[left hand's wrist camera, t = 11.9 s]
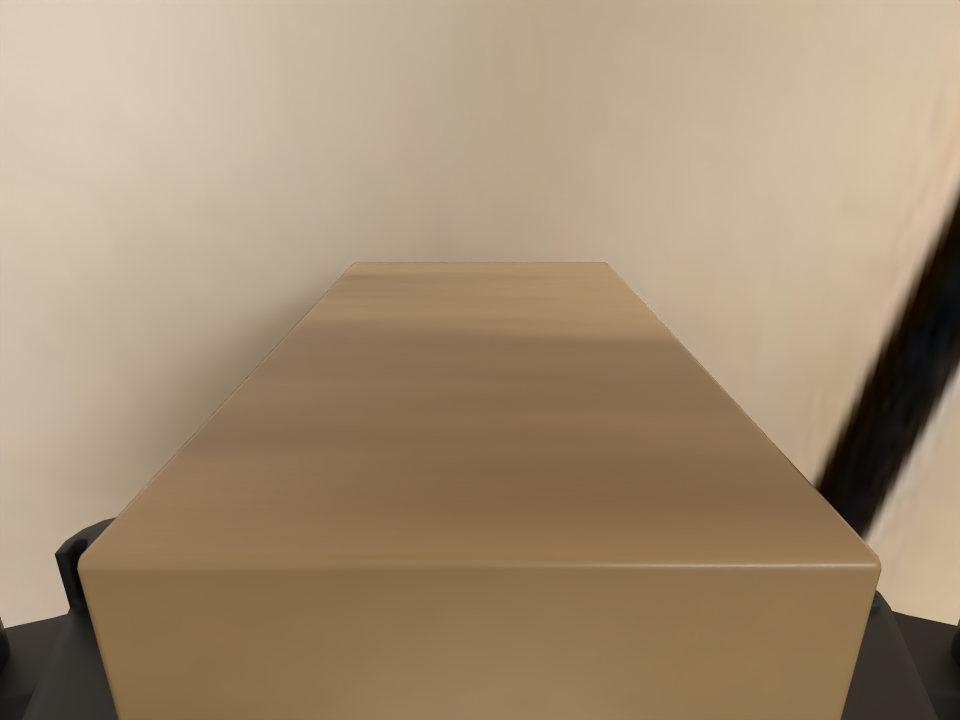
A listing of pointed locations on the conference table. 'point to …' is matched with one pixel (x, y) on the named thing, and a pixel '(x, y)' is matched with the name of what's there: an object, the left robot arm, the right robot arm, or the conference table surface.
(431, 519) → the box
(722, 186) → the conference table surface
